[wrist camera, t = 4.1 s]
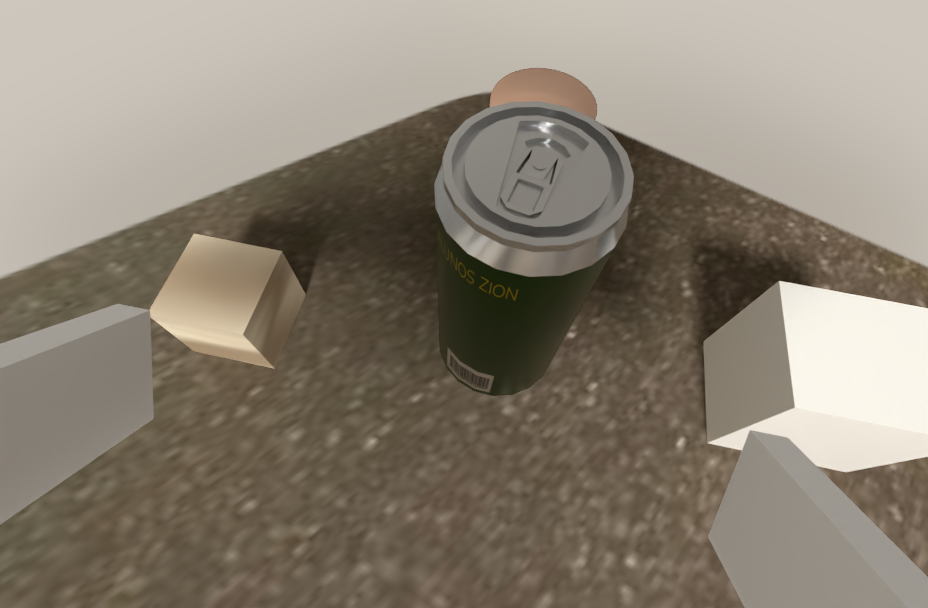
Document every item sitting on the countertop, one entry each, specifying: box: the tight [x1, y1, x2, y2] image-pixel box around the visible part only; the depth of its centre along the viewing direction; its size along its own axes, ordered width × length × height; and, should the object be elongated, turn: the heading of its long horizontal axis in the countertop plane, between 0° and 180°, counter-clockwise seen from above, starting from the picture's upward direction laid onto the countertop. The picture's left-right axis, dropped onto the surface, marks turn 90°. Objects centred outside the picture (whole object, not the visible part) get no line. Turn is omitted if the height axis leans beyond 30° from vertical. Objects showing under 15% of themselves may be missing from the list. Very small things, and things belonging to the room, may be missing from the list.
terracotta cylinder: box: [490, 68, 597, 120], centre depth 25 cm, size 5×5×6 cm
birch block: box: [150, 234, 306, 369], centre depth 21 cm, size 4×4×4 cm
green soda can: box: [434, 101, 634, 396], centre depth 17 cm, size 5×5×12 cm
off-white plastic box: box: [703, 281, 928, 472], centre depth 19 cm, size 5×6×6 cm
